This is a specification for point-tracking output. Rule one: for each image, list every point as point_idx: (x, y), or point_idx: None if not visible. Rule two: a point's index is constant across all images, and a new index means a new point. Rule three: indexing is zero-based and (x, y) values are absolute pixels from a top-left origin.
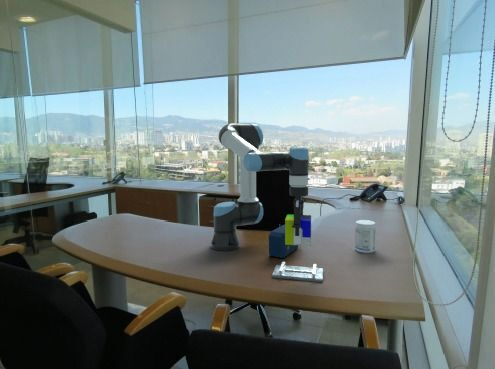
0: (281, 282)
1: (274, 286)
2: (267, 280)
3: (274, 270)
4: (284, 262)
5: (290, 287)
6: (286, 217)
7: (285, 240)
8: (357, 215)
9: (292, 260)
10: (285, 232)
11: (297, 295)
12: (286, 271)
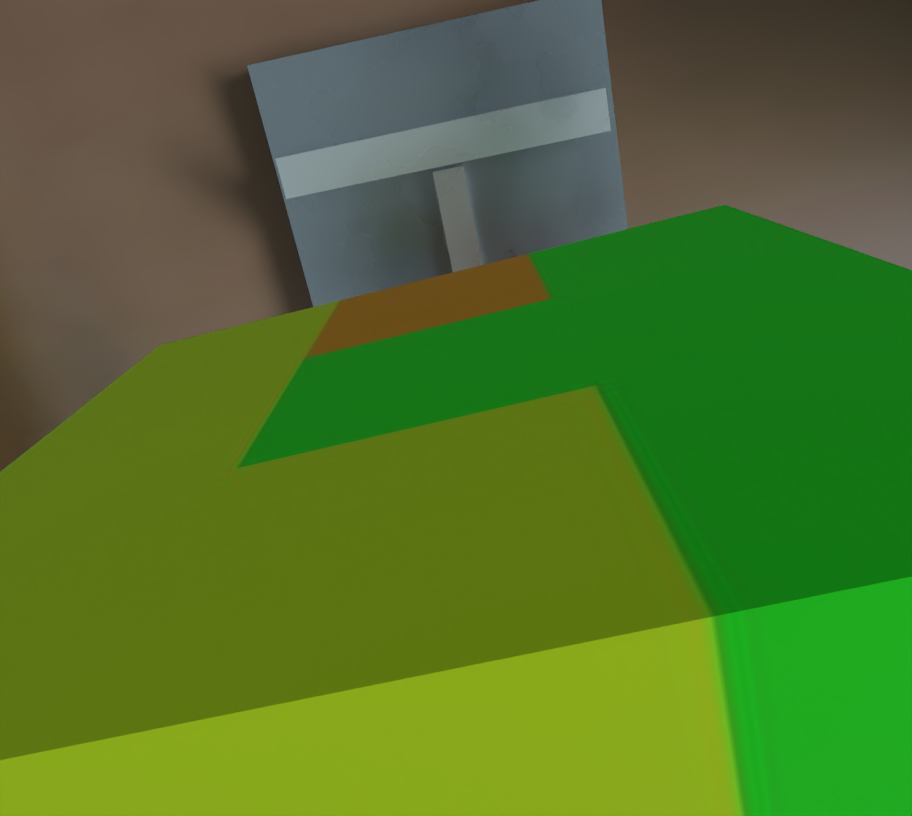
0: (190, 224)
1: (56, 187)
2: (150, 43)
3: (386, 42)
4: (582, 127)
5: (131, 350)
6: (295, 720)
7: (126, 380)
8: None
9: (908, 126)
10: (7, 475)
11: (19, 454)
12: (423, 208)
